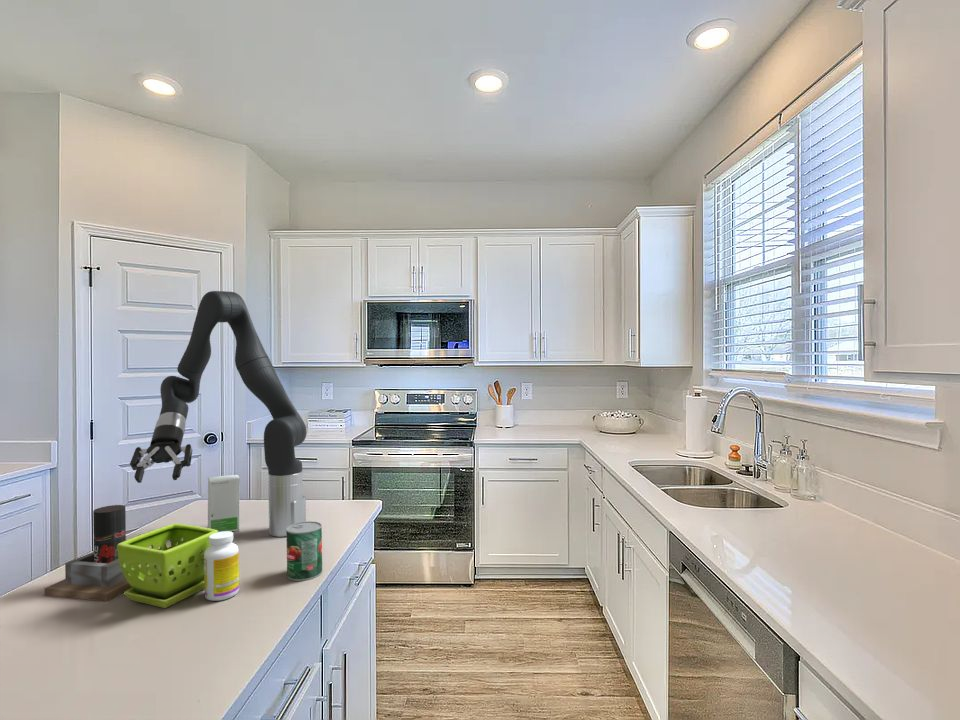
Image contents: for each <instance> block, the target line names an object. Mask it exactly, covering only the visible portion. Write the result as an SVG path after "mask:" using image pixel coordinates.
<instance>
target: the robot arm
mask: <svg viewBox="0 0 960 720" xmlns="http://www.w3.org/2000/svg"><path fill="white" fill-rule="evenodd" d="M218 323H228V325H229V327H230V329H231V330H232V333H233V336H234V337H235V353H234V364H235V367H236V371H237V372H238V373H239V375H240V378H241V380H242V382H243V384H244V385H245V387H246V388H247V389H248V390H249V392H250V393H252V394H253V396H255V397H256V398H257V399H258V400H259V401H260V402H261V403H262V404H263V405H264V406H265V408H266V409H267V410H268V412H269V413H270V415H271V417H272V419H271V420H270V421H269V422H268V423H267V424H266V425H265V428H264V431H263V445H264V446H263V449H264V452H263V453H264V462H265V465H266V467H267V470H268V472H267V476H268V481H267V483H268V534H269V535H270V536H271V537H272V536H273V537H278V538H279V537H280V538H281V537H286V528H287V527H288V526H290V525H292V524H295V523H299V522H307V509H306V508H307V505H306V504H307V501H306V500H307V499H306V496H303V462H302V461H301V460H299V459H297V458H296V454H295V453H296V452H295V447H297V446H299V445H301V444H303V442H305V440H306V438H307V432H308V430H307V427H306V424H305V422H304V420H303V418H302V416H301V415H300V413H299V412H298V410H297V409H296V408H295V406H294V404H293V402H292V401H291V399H290V398H289V396H288V394H287V392H286V390H285V388H284V386H283V383H282V382H281V380H280V378H279V377H278V374H277V372H276V369H275V368H274V366H273V363H272V361H271V359H270V357H269V356H268V354H267V351H265V348H264V346H263V344H262V342H261V340H260V338H259V335H258V332H257V331H256V329H255V326H254V323H253V320H252V318H251V315H250V313H249V310H248V307H247V305H246V302H245V301H244V299H243V297H242V296H241V295H240V294H239V293H238V292H233V291H228V290H227V291H222V290H212V291H208V292H206V293H205V294H203V296H202V298H201V300H200V303H199V305H198V308H197V312H196V317H195V320H194V322H193V327H192V331H191V335H190V339H189V341H188V344H187V346H186V349H185V350H184V352H183V354H182V356H181V359H180V361H179V363H178V365H177V367H176V368H177V369H176V370H177V373H178V374H179V375H180V376H182V377H179V376H176V375H169V376H167V377H165V378H164V379H162V382H161V383H160V388H159V389H160V392H159V393H160V398H161V407H160V408H161V409H160V413H159V417H158V418H157V421H156V423H155V425H154V429H153V430H154V431H153V433H152V436H151V440H150V445H149V446H148V447H147V448H142V447H140V446H138V447H135V449H134V452H133V455H132V457H131V459H130V462H129V465H130V467H131V470H132V471H135V473H134V479H135V482H137V483H138V484H141V483H142V481H143V478H144V475H145V471H146V469H148V468H151V467H152V466H153V465H154V464H155V463H156V464H162V463H166V464H167V463H169V462H172V463H173V464H174V465H173V466H174V467H173V470H172V474H171V475H172V480H173V481H177V480H178V479H180V477H181V473H182V469H183V468H184V467H190V466H191V464H192V455H193V447H192V445H191V444H190V443H187V444H186V445H185V446H182V443H183V437H184V434H185V432H186V423H187V419H188V413H189V405H188V404H190V403H193V402H195V401H196V400H197V399H198V397H199V394H200V385H201V381H202V376H203V373H204V372H205V369H206V368H207V365H208V364H209V361H210V358H211V356H212V346H211V345H212V344H211V340H210V339H211V334H212V332H213V330H214V328H215V327H216V325H217V324H218ZM181 453H183V455H184V456H183V460H180V458H179V457H178V455H180V454H181ZM142 458H143V459H142Z"/></svg>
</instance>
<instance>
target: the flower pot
mask: <svg viewBox="0 0 960 720" xmlns="http://www.w3.org/2000/svg"><path fill="white" fill-rule="evenodd" d="M217 532H218V531H217V530H214V529H210V528H208V527H203V526H197V525H190V524H184V523H183V524H182V523H172V524H169V525H166V526H163V527H159V528H156V529H154V530H151V531H148V532H145V533H142V534H140V535H136V536H134V537H131V538H129V539H126V541H124V542H121V543H119V544H118V545H117V552H118V559H119V563H120V567H121V569H122V572H123V574H124V576H125V578H126V580H127V581H128V583H129V584H130V586H131V587H132V588H131V589H129V590H127V591H125V592H124V593H123V594H124V595H125V597H127V598H128V599H130V600H132V601H134V602H139V603H142V604H146V605H150V606H153V607H154V606H155V607H159V608H163V609H166V608H169V607H170V606H172V605H175V604H177V603H179V602H181V601H183V600H185V599H186V598H188V597H191V596H192V595H195V594H196V593H198V592H200V591H205V586H204V552H205V550H206V549H207V548H208V547H210V544H209V536H210V535H211V534H214V533H217ZM167 542H170V545H171V546H170V547H169V548H167V546H166V545H167ZM149 546H151V547H152V549H150V548H147V547H149ZM159 547H160V550H158V548H159ZM139 563H140V564H139Z"/></svg>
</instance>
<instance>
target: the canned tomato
mask: <svg viewBox="0 0 960 720" xmlns="http://www.w3.org/2000/svg"><path fill="white" fill-rule="evenodd" d="M322 526H323V525H322V523H321V522H318V521H311V520H310V521H308V520H306V522H299V523H295V524H292V525H290V526H288V527H287V528H286V536H285V537H286V577H287V579H289V580H290V581H293V582H305V581H309V580H314V579H316V578H318V577H320V576H321V575H322V574H323V572H324V571H323V533H322V532H323V531H322V529H323V528H322Z"/></svg>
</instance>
